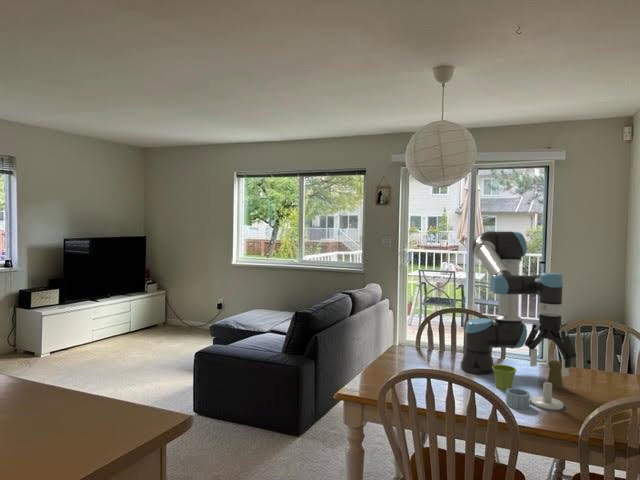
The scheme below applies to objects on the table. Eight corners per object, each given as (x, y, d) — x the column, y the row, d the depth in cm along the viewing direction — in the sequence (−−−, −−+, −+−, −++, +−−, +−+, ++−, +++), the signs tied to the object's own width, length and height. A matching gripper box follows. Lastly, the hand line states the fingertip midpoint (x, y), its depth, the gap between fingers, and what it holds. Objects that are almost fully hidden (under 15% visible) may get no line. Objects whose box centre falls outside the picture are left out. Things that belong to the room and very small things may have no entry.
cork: (564, 389, 195) (565, 363, 195) (549, 388, 197) (550, 362, 196) (560, 385, 201) (561, 359, 201) (545, 383, 203) (546, 358, 202)
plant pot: (514, 394, 189) (515, 373, 189) (489, 390, 194) (490, 369, 194) (517, 387, 198) (517, 367, 197) (493, 383, 202) (494, 363, 202)
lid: (524, 401, 181) (525, 380, 180) (544, 397, 186) (545, 377, 185) (549, 412, 171) (550, 390, 171) (570, 407, 176) (571, 386, 175)
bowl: (501, 404, 179) (501, 390, 179) (516, 401, 182) (517, 387, 182) (518, 412, 172) (518, 397, 172) (534, 408, 175) (534, 394, 175)
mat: (522, 402, 181) (522, 401, 181) (544, 397, 186) (544, 396, 186) (549, 414, 170) (550, 412, 170) (572, 408, 175) (572, 407, 175)
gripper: (516, 309, 186) (514, 363, 187) (574, 321, 164) (572, 382, 164) (529, 308, 190) (528, 361, 190) (588, 319, 167) (586, 379, 168)
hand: (548, 370), depth 177 cm, fingers open, 13 cm apart
